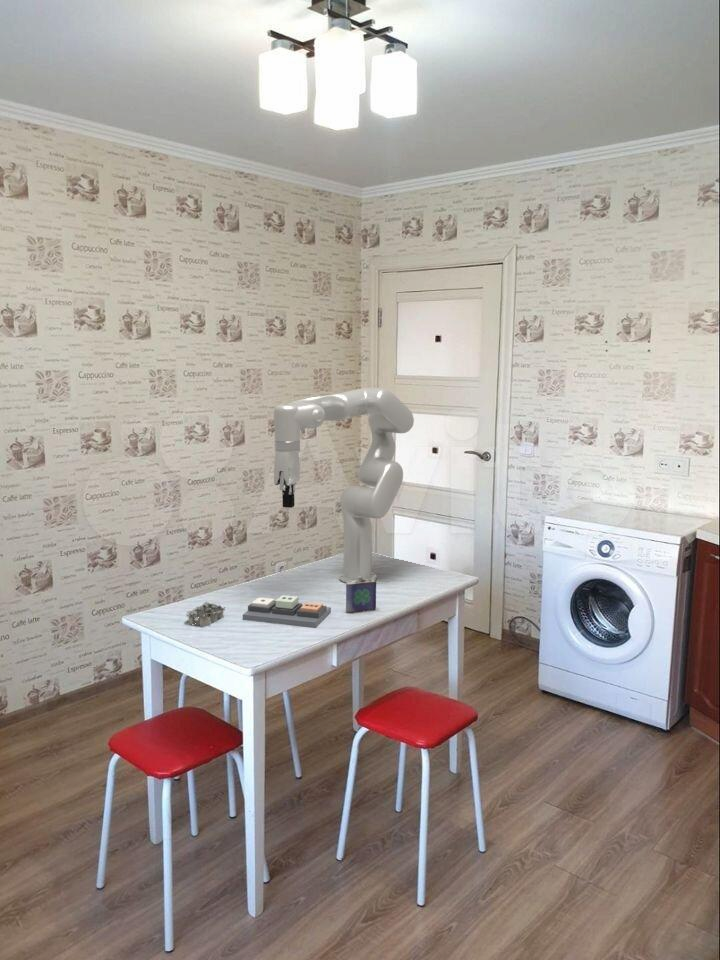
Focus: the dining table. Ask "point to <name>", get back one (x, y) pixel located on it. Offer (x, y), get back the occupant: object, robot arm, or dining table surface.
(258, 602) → the tile
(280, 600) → the tile
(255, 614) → the keypad board
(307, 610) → the tile
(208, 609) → the egg carton
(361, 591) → the flask
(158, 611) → the dining table surface
